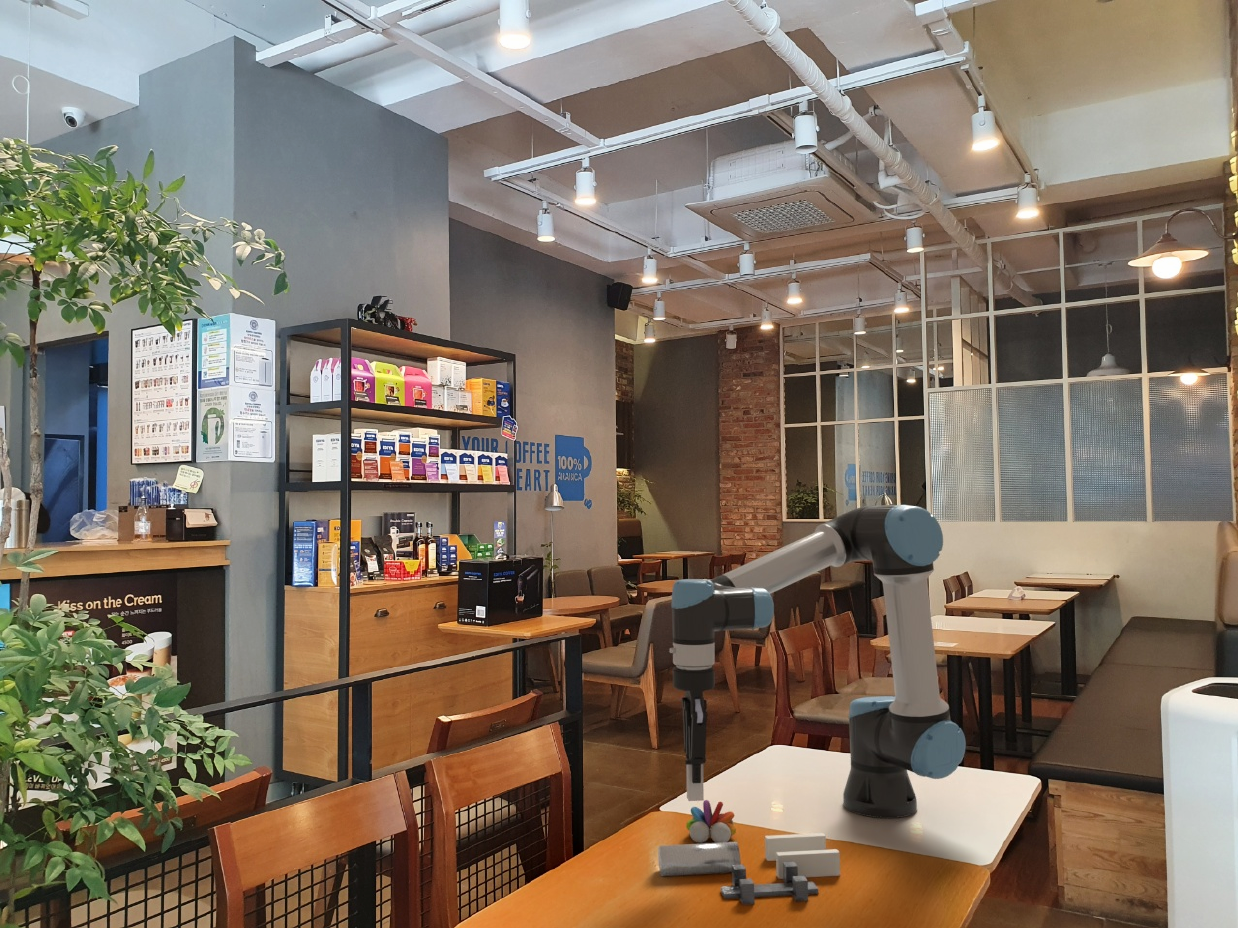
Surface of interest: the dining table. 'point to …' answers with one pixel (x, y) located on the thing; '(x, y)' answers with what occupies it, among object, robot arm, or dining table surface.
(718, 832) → the rainbow petal fan toy
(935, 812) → the dining table surface
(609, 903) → the dining table surface
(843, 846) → the dining table surface
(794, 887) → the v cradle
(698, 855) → the axle
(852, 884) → the dining table surface
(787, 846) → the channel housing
